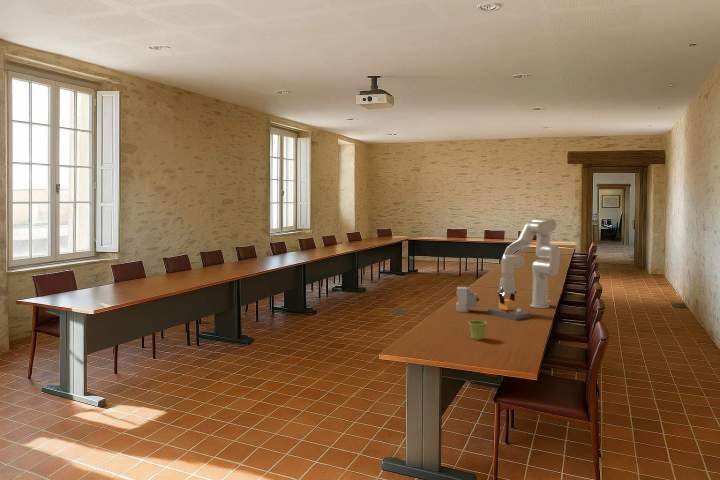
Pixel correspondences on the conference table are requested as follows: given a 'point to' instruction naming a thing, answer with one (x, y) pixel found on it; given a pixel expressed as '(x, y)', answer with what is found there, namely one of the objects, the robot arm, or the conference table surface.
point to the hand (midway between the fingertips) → (507, 302)
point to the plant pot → (477, 329)
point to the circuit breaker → (465, 299)
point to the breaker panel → (509, 313)
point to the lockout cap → (507, 305)
